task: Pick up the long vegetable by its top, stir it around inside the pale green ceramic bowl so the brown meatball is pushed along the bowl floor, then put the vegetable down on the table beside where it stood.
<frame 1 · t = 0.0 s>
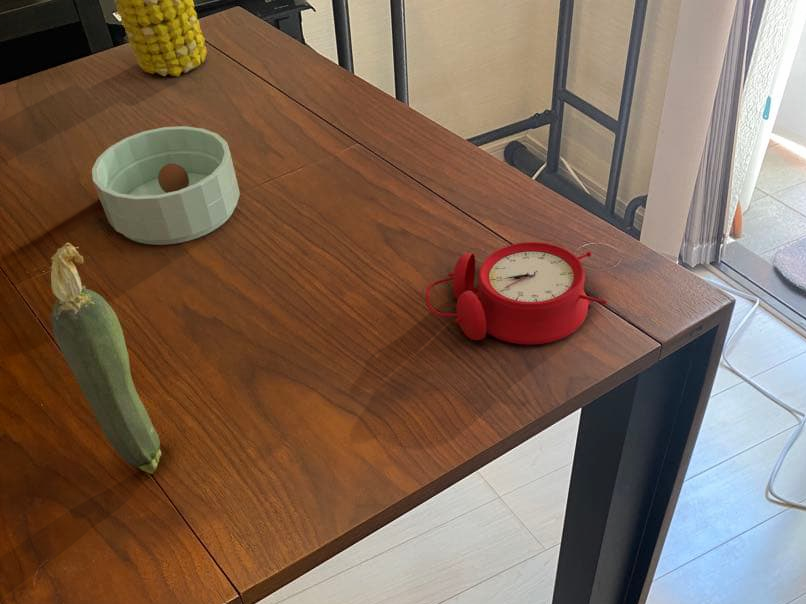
alarm clock: (510, 313, 77), on the table
vegetable: (148, 463, 68), on the table
bowl: (175, 209, 91), on the table
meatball: (173, 179, 90), point 2 cm above the table, touching bowl
food: (172, 67, 113), on the table
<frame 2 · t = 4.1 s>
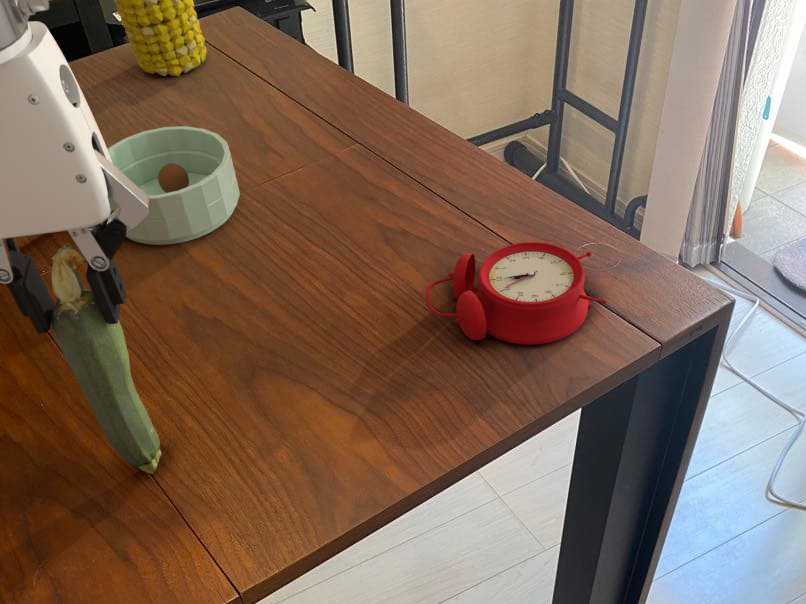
hand: (79, 313, 56), 15 cm above the table, tool pointing down, fingers closed on vegetable, 3 cm apart
vegetable: (148, 463, 68), on the table, touching gripper
everything else where it was.
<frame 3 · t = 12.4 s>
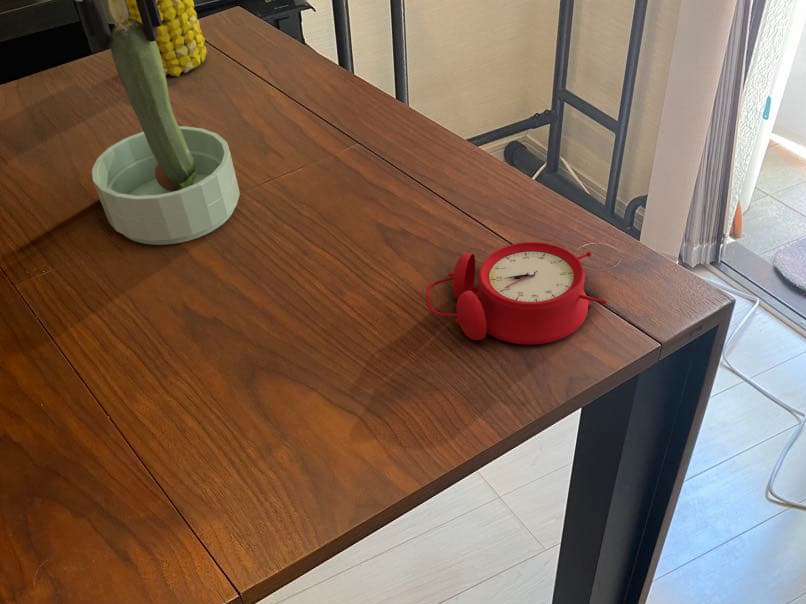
hand: (128, 36, 79), 17 cm above the table, tool pointing down, fingers closed on vegetable, 3 cm apart
vegetable: (187, 188, 90), point 2 cm above the table, touching gripper, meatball
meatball: (170, 174, 91), point 2 cm above the table, tilted 45°, touching bowl, vegetable
everything else where it was.
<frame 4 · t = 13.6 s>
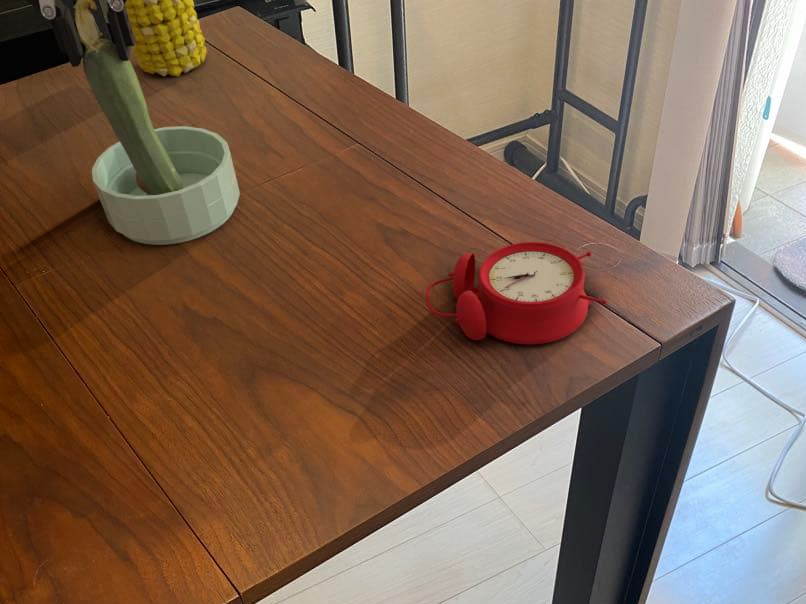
hand: (101, 55, 77), 17 cm above the table, tool pointing down, fingers closed on vegetable, 3 cm apart
vegetable: (178, 208, 88), point 2 cm above the table, touching gripper
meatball: (151, 178, 91), point 2 cm above the table, tilted 86°, touching bowl
everything else where it was.
when the fingers open (15 cm above the table, at t = 22.0 s): vegetable moves 2 cm, point 1 cm above the table.
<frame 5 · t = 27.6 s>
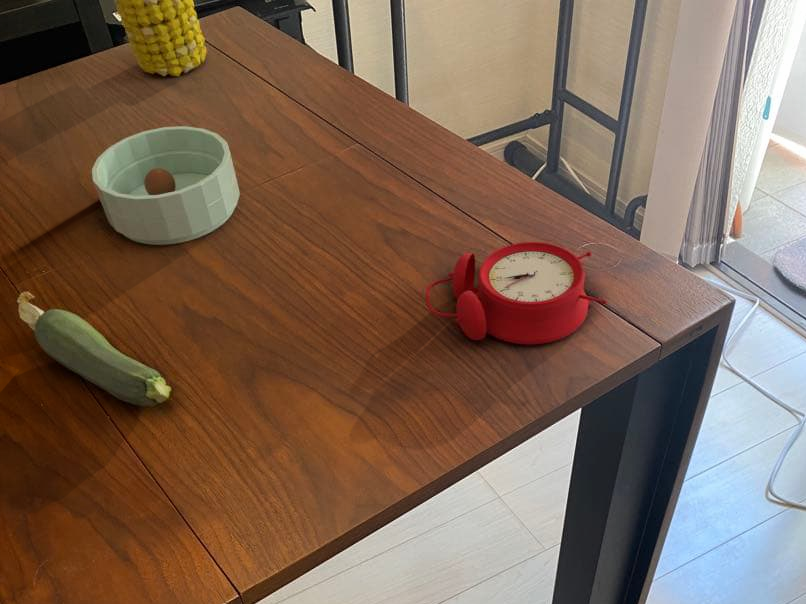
vegetable: (171, 402, 70), point 1 cm above the table
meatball: (160, 184, 90), point 2 cm above the table, tilted 30°, touching bowl
everything else where it was.
at the end: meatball moved 1.6 cm from its start; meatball inside the target area in the bowl (1.6 cm from its centre), point 2.4 cm above the bowl's base; vegetable inside the target area (2.2 cm from its centre), point 1.4 cm above the table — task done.
